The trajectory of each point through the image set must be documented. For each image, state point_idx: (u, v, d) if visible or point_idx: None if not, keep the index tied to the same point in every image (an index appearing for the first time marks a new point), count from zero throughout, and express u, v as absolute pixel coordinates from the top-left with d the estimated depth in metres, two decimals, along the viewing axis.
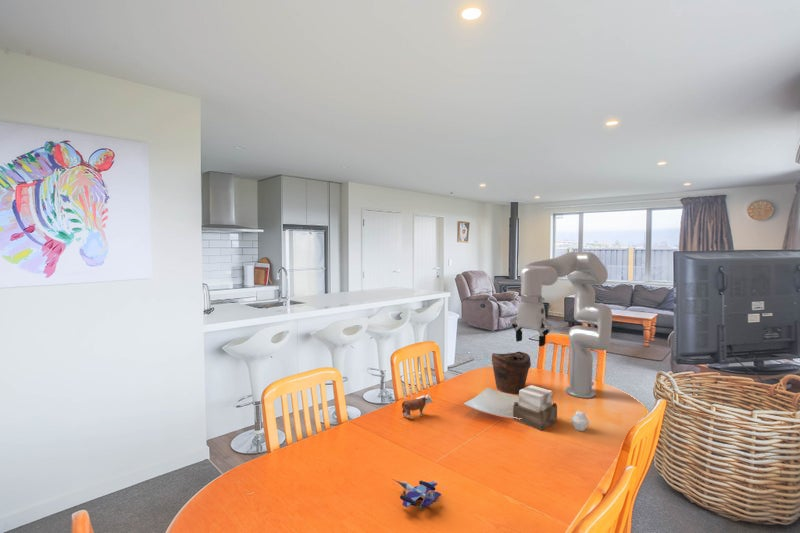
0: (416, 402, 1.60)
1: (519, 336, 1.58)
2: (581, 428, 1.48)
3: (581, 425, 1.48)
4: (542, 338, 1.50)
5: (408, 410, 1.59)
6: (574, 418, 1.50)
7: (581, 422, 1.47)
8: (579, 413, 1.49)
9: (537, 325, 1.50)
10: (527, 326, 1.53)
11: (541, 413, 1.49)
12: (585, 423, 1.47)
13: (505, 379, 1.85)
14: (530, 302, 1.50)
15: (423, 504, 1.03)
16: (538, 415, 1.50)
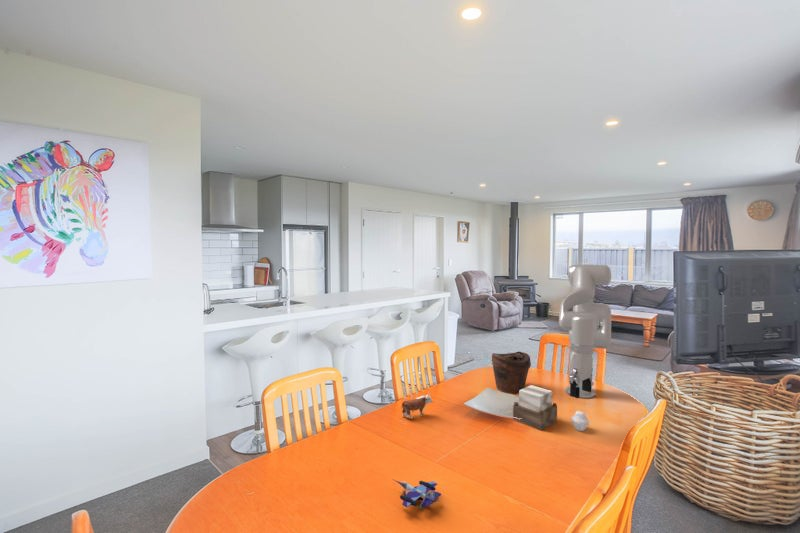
0: (416, 402, 1.60)
1: None
2: (581, 428, 1.48)
3: (581, 425, 1.48)
4: None
5: (408, 410, 1.59)
6: (574, 418, 1.50)
7: (581, 422, 1.47)
8: (579, 413, 1.49)
9: (591, 372, 1.50)
10: (587, 376, 1.47)
11: (541, 413, 1.49)
12: (585, 423, 1.47)
13: (505, 379, 1.85)
14: None
15: (423, 504, 1.03)
16: (538, 415, 1.50)
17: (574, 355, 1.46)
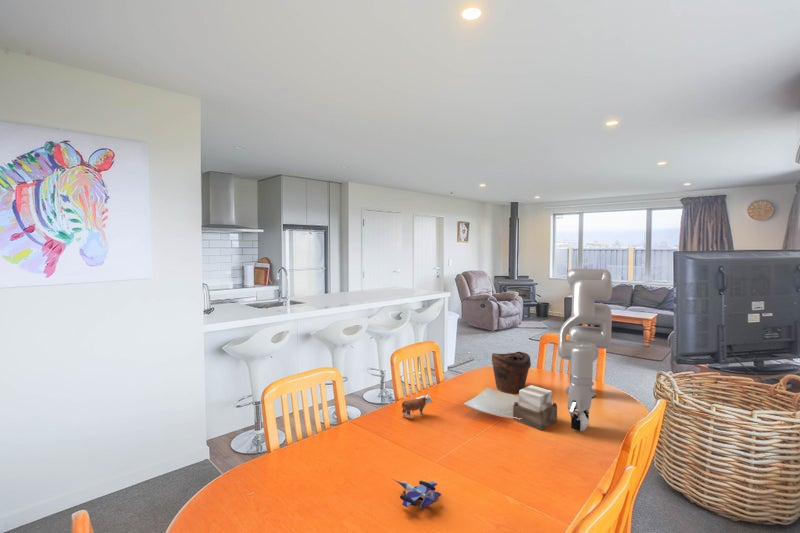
0: (416, 402, 1.60)
1: None
2: (581, 428, 1.48)
3: (581, 425, 1.48)
4: None
5: (408, 410, 1.59)
6: None
7: (581, 422, 1.47)
8: None
9: (590, 402, 1.51)
10: (586, 407, 1.48)
11: (541, 413, 1.49)
12: (585, 423, 1.47)
13: (505, 379, 1.85)
14: None
15: (423, 504, 1.03)
16: (538, 415, 1.50)
17: (573, 387, 1.47)
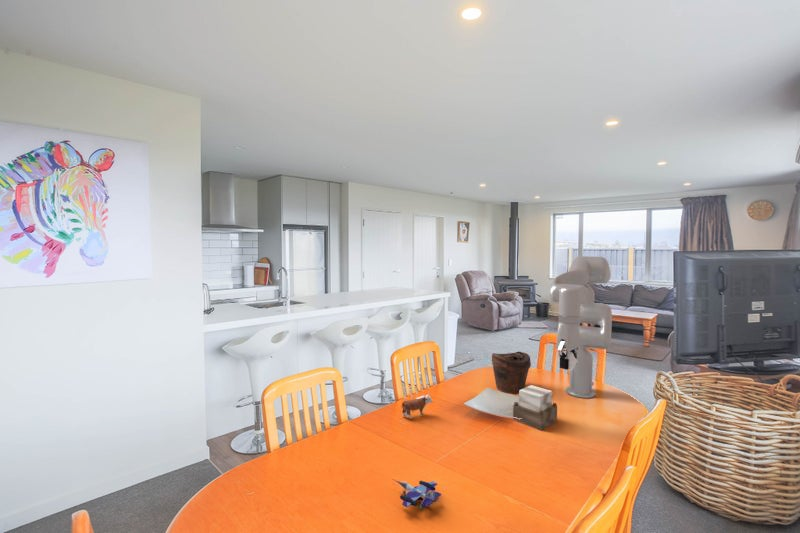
0: (416, 402, 1.60)
1: None
2: (569, 367, 1.49)
3: (570, 365, 1.49)
4: (575, 357, 1.53)
5: (408, 410, 1.59)
6: None
7: (570, 361, 1.48)
8: None
9: (578, 342, 1.52)
10: (574, 347, 1.49)
11: (541, 413, 1.49)
12: (573, 362, 1.48)
13: (505, 379, 1.85)
14: None
15: (423, 504, 1.03)
16: (538, 415, 1.50)
17: (562, 326, 1.48)
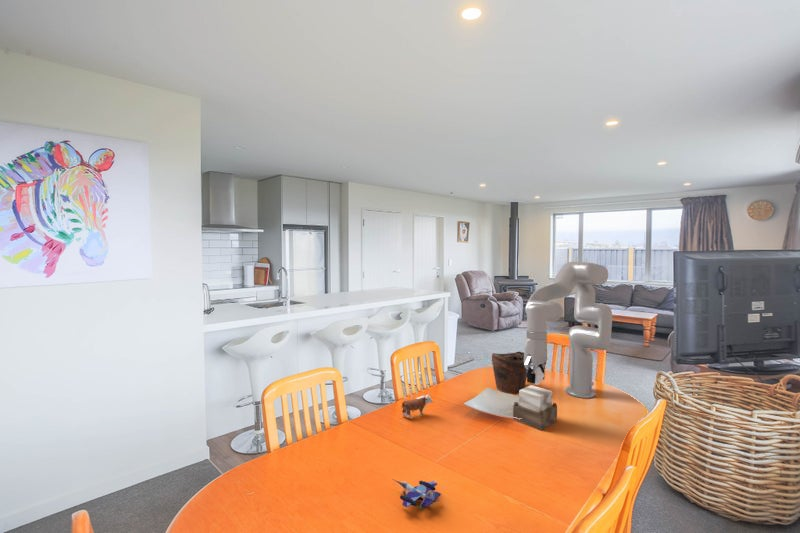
0: (416, 402, 1.60)
1: None
2: (536, 381, 1.55)
3: (536, 379, 1.54)
4: None
5: (408, 410, 1.59)
6: None
7: (536, 375, 1.54)
8: (535, 367, 1.55)
9: (546, 357, 1.57)
10: (541, 362, 1.55)
11: (541, 413, 1.49)
12: (540, 376, 1.54)
13: (505, 379, 1.85)
14: (546, 337, 1.54)
15: (423, 504, 1.03)
16: (538, 415, 1.50)
17: (528, 342, 1.53)
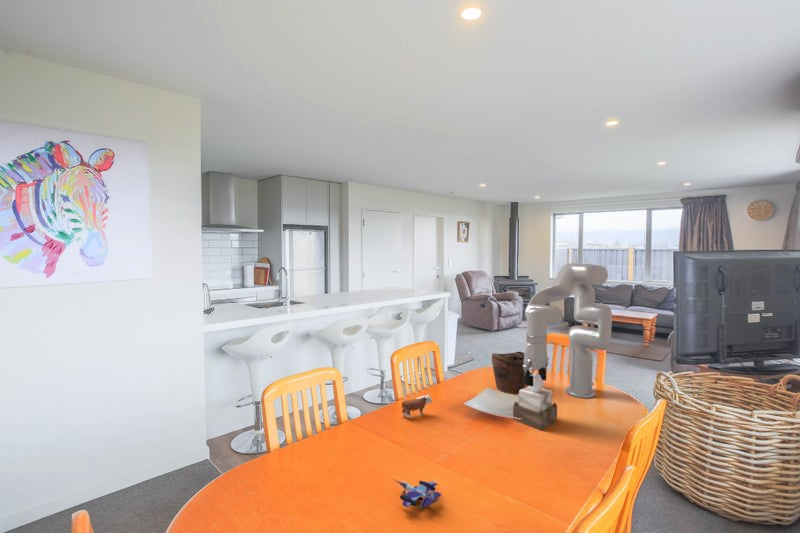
0: (416, 402, 1.60)
1: None
2: (536, 389, 1.55)
3: (536, 387, 1.54)
4: None
5: (408, 410, 1.59)
6: None
7: (536, 383, 1.54)
8: (535, 375, 1.56)
9: (546, 361, 1.57)
10: (541, 366, 1.55)
11: (541, 413, 1.49)
12: (540, 384, 1.54)
13: (505, 379, 1.85)
14: (546, 342, 1.54)
15: (423, 504, 1.03)
16: (538, 415, 1.50)
17: (528, 346, 1.53)
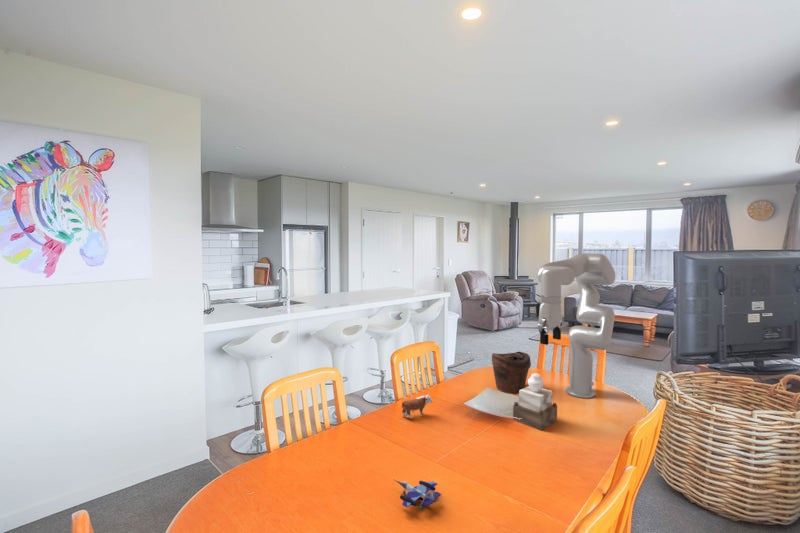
0: (416, 403, 1.60)
1: None
2: (536, 389, 1.55)
3: (536, 386, 1.54)
4: None
5: (408, 410, 1.59)
6: (530, 380, 1.56)
7: (536, 383, 1.54)
8: (535, 375, 1.56)
9: (560, 321, 1.61)
10: (556, 325, 1.58)
11: (541, 413, 1.49)
12: (540, 384, 1.54)
13: (505, 379, 1.85)
14: None
15: (423, 504, 1.03)
16: (538, 415, 1.50)
17: (543, 305, 1.57)
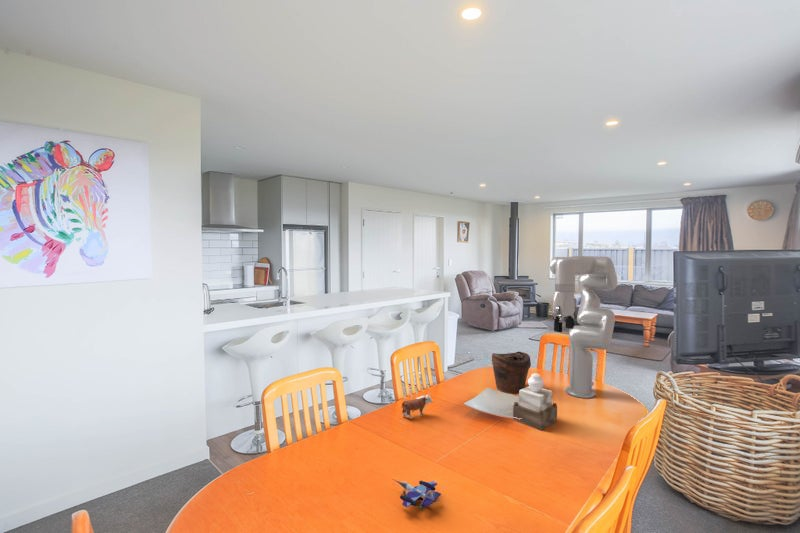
0: (416, 402, 1.60)
1: None
2: (536, 389, 1.55)
3: (536, 387, 1.54)
4: None
5: (408, 410, 1.59)
6: (530, 380, 1.56)
7: (536, 383, 1.54)
8: (535, 375, 1.56)
9: (573, 310, 1.65)
10: (569, 313, 1.62)
11: (541, 413, 1.49)
12: (540, 384, 1.54)
13: (505, 379, 1.85)
14: (574, 290, 1.62)
15: (423, 504, 1.03)
16: (538, 415, 1.50)
17: (557, 294, 1.61)
